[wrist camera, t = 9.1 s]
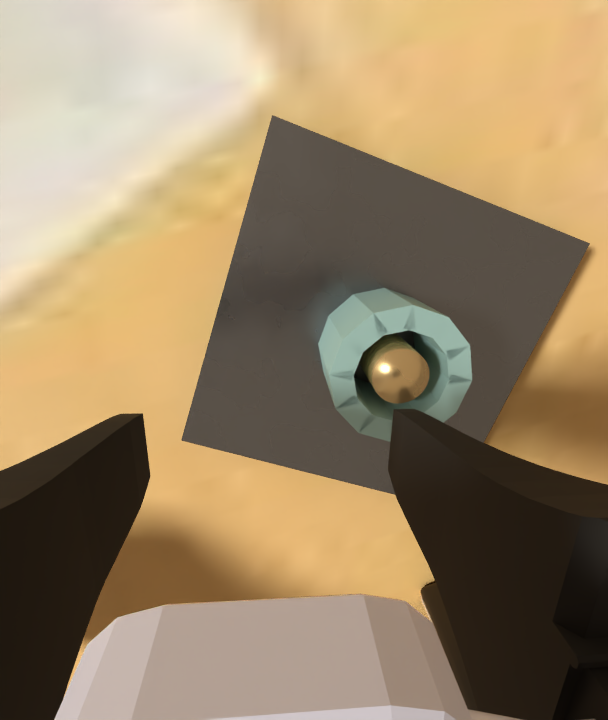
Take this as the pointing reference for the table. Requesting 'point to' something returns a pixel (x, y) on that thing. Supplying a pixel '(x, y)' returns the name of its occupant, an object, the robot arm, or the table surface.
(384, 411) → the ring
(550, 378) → the table surface
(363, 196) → the hub plate
